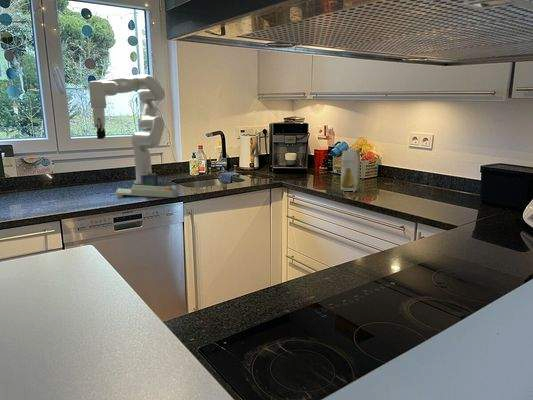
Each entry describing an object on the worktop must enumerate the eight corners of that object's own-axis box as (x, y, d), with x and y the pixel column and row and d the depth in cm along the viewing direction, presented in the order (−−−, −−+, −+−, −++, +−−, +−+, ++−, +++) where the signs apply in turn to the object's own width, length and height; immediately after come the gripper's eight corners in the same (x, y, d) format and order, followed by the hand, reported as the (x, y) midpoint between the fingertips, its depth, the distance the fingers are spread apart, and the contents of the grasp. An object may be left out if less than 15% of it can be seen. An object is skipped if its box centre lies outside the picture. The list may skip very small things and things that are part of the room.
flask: (141, 190, 232) (140, 172, 229) (141, 189, 234) (140, 171, 232) (158, 189, 234) (157, 171, 232) (157, 188, 237) (156, 170, 235)
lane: (118, 196, 217) (117, 185, 216) (175, 193, 225) (174, 182, 224) (116, 201, 207) (115, 189, 206) (176, 197, 215) (176, 186, 214)
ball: (167, 193, 221) (162, 188, 219) (173, 189, 221) (168, 183, 220) (167, 195, 217) (162, 189, 216) (173, 190, 217) (168, 185, 216)
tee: (103, 199, 211) (103, 196, 211) (109, 198, 212) (108, 195, 212) (103, 200, 209) (103, 197, 209) (108, 199, 210) (108, 196, 209)
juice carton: (339, 191, 228) (340, 148, 223) (343, 189, 235) (345, 147, 230) (355, 193, 224) (357, 149, 219) (359, 190, 230) (361, 148, 225)
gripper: (92, 105, 221) (95, 137, 225) (88, 105, 205) (92, 139, 209) (107, 105, 223) (110, 136, 227) (104, 105, 207) (107, 139, 211)
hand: (101, 138), depth 218 cm, fingers open, 9 cm apart
